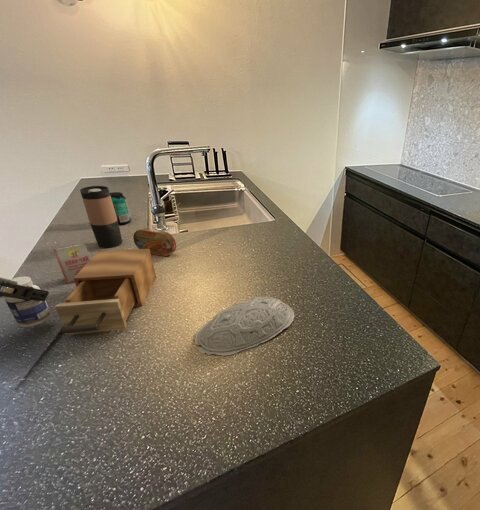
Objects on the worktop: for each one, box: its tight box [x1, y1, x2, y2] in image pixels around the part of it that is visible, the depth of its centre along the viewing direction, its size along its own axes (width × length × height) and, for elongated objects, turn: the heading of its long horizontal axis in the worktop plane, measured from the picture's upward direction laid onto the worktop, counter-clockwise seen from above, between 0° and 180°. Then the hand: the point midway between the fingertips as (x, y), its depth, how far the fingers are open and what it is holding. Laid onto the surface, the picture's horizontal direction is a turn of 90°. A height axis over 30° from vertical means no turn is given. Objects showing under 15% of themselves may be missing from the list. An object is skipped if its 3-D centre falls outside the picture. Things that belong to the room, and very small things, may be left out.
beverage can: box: [110, 191, 132, 226], centre depth 123 cm, size 7×7×12 cm
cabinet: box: [73, 248, 157, 308], centre depth 82 cm, size 15×13×10 cm
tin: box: [132, 227, 177, 257], centre depth 104 cm, size 15×3×8 cm, turn 76°
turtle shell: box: [194, 296, 295, 357], centre depth 75 cm, size 16×25×7 cm, turn 131°
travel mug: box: [79, 185, 123, 249], centre depth 104 cm, size 8×8×20 cm
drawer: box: [55, 277, 137, 336], centre depth 71 cm, size 19×11×8 cm, turn 15°
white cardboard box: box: [53, 243, 92, 285], centre depth 87 cm, size 4×7×10 cm, turn 134°
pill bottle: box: [3, 276, 52, 328], centre depth 64 cm, size 5×5×10 cm
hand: (34, 293), depth 65 cm, fingers closed on pill bottle, 5 cm apart
